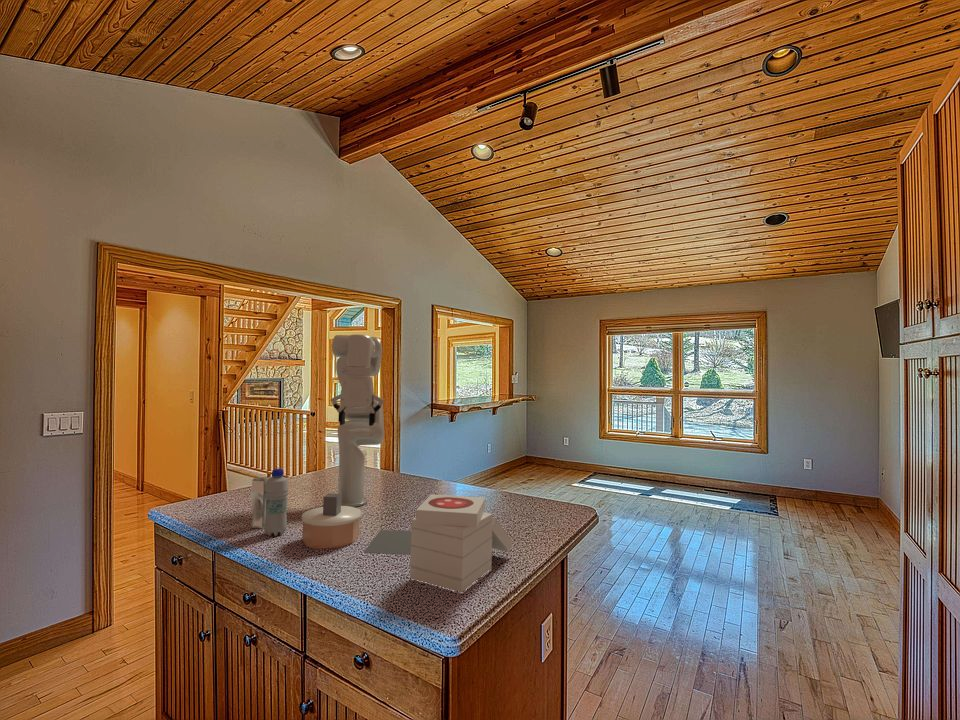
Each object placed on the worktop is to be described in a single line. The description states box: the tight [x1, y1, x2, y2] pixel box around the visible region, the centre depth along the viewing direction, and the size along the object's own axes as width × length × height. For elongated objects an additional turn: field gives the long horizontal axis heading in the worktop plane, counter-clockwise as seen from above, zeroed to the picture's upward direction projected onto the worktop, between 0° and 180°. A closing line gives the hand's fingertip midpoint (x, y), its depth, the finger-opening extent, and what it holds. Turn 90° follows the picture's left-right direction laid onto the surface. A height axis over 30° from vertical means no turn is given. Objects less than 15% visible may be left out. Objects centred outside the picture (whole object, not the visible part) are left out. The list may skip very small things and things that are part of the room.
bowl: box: [301, 518, 361, 550], centre depth 141 cm, size 15×15×7 cm
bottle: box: [263, 468, 289, 537], centre depth 146 cm, size 7×7×20 cm
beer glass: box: [250, 476, 272, 529], centre depth 153 cm, size 7×7×15 cm
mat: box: [363, 529, 411, 556], centre depth 140 cm, size 19×19×1 cm
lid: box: [301, 492, 362, 526], centre depth 141 cm, size 17×17×6 cm
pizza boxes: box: [409, 493, 514, 592], centre depth 124 cm, size 19×30×18 cm, turn 151°
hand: (356, 424), depth 154 cm, fingers open, 9 cm apart
